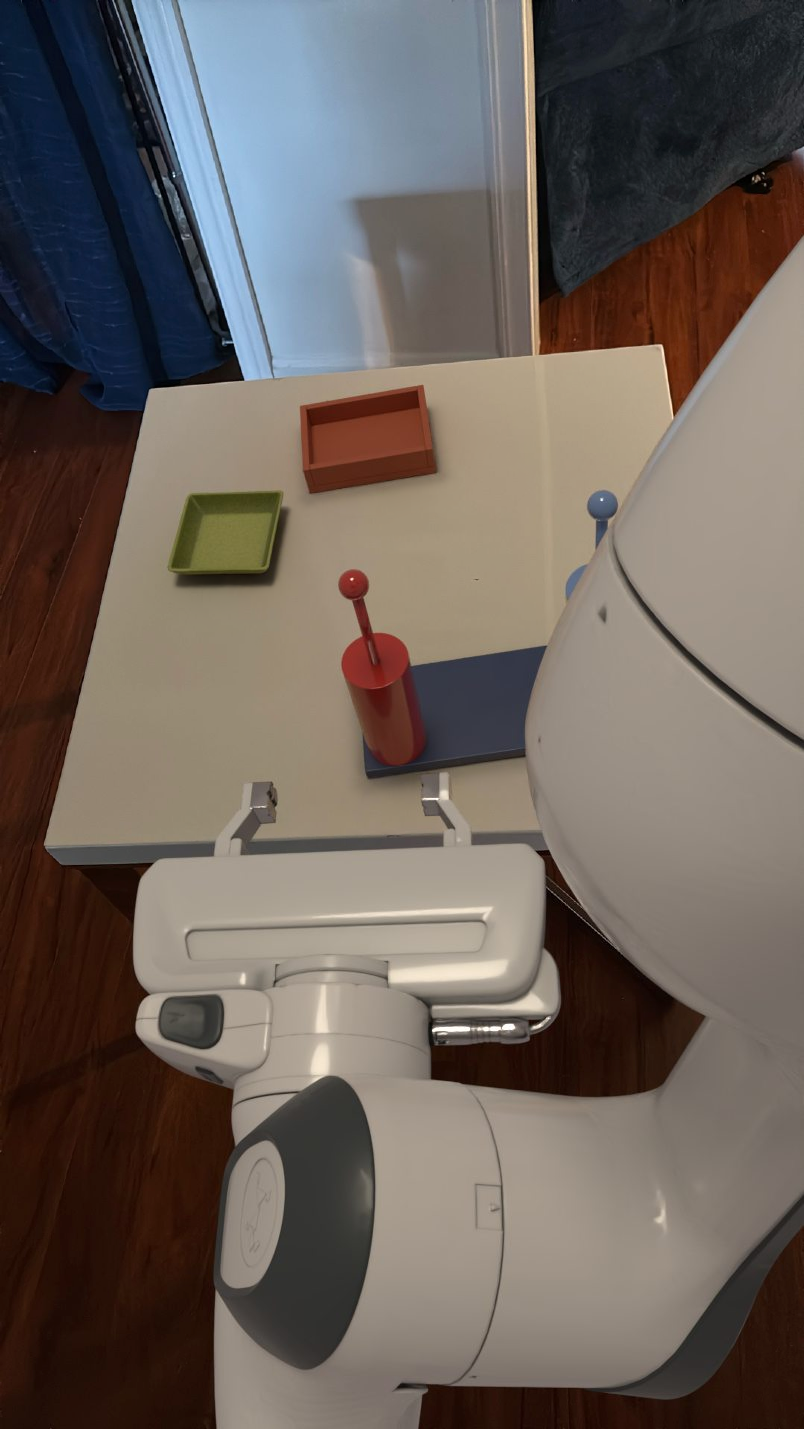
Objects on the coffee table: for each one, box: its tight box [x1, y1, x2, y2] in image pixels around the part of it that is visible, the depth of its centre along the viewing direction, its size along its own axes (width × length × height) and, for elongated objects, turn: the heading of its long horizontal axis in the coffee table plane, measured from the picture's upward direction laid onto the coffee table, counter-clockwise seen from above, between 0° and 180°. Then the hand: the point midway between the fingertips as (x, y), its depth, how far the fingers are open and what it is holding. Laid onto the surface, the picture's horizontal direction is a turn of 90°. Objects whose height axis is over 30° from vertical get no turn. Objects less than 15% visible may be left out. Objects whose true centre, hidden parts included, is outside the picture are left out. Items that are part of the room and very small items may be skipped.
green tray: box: [167, 490, 284, 575], centre depth 88 cm, size 9×9×2 cm
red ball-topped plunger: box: [337, 568, 427, 766], centre depth 67 cm, size 4×4×18 cm
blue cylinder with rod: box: [564, 489, 619, 604], centre depth 68 cm, size 4×4×18 cm
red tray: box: [299, 384, 437, 494], centre depth 92 cm, size 11×8×3 cm
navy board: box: [361, 644, 548, 779], centre depth 76 cm, size 20×9×1 cm, turn 95°
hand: (348, 782), depth 55 cm, fingers open, 8 cm apart
